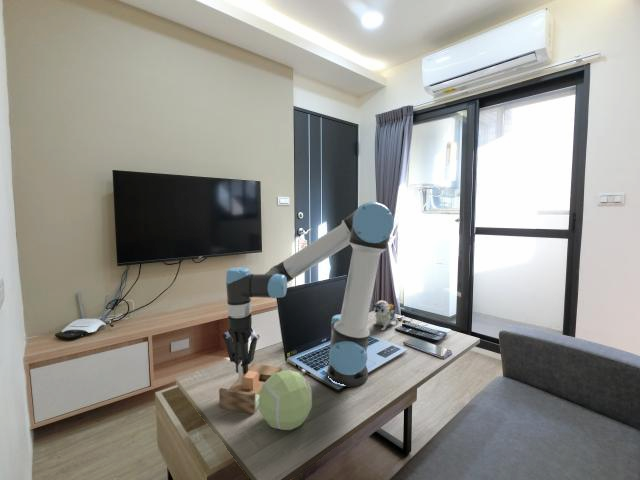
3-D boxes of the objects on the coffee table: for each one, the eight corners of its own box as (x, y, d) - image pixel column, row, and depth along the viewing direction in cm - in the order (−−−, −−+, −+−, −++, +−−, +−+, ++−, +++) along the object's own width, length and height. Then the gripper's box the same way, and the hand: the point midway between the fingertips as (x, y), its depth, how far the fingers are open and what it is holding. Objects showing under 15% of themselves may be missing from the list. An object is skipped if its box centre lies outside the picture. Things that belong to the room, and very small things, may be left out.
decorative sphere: (274, 451, 79) (272, 396, 78) (252, 418, 92) (250, 371, 90) (322, 427, 88) (321, 378, 86) (296, 400, 100) (295, 356, 98)
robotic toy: (365, 328, 159) (365, 300, 157) (383, 319, 171) (384, 293, 170) (386, 335, 150) (386, 305, 148) (404, 325, 162) (404, 298, 161)
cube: (258, 383, 105) (258, 372, 104) (253, 389, 101) (252, 378, 101) (248, 381, 106) (247, 370, 106) (242, 388, 102) (241, 376, 102)
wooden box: (282, 375, 115) (281, 359, 115) (254, 413, 94) (253, 395, 93) (253, 371, 118) (252, 356, 118) (219, 407, 97) (219, 389, 96)
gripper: (262, 312, 103) (265, 378, 106) (228, 309, 107) (231, 373, 109) (252, 319, 96) (255, 390, 98) (215, 316, 99) (219, 385, 102)
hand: (242, 381), depth 104 cm, fingers closed
